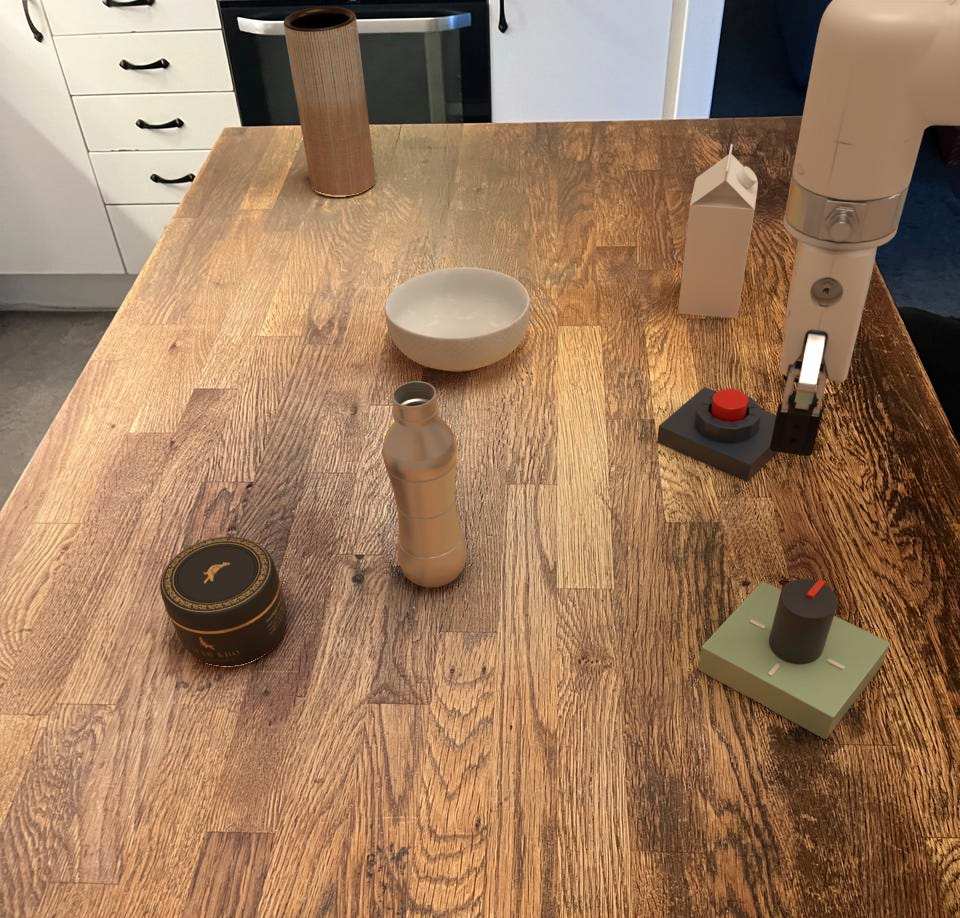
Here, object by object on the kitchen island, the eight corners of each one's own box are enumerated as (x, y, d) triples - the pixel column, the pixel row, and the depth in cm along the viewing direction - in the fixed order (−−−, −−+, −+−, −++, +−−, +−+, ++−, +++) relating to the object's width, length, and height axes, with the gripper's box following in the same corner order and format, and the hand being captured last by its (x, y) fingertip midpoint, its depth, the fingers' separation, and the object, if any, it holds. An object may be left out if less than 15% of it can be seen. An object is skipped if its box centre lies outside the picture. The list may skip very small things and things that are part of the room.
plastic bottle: (481, 561, 96) (470, 382, 81) (444, 606, 92) (425, 427, 77) (425, 540, 98) (403, 362, 83) (386, 583, 94) (357, 405, 79)
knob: (807, 672, 81) (822, 623, 76) (758, 647, 83) (770, 599, 78) (832, 640, 83) (848, 591, 78) (785, 617, 85) (798, 568, 80)
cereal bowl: (551, 332, 122) (552, 278, 117) (496, 406, 112) (494, 350, 107) (429, 307, 128) (424, 255, 122) (365, 376, 118) (357, 322, 112)
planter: (309, 175, 156) (281, 10, 139) (372, 167, 157) (352, 2, 140) (313, 202, 150) (284, 33, 133) (379, 194, 150) (359, 25, 134)
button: (752, 410, 104) (755, 396, 102) (734, 427, 102) (736, 413, 101) (722, 398, 105) (724, 384, 104) (704, 415, 104) (706, 400, 102)
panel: (881, 666, 85) (891, 641, 82) (825, 740, 80) (834, 716, 77) (756, 603, 90) (762, 578, 88) (696, 669, 85) (701, 645, 83)
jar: (165, 670, 88) (139, 610, 82) (201, 590, 95) (180, 530, 89) (274, 678, 87) (255, 618, 81) (303, 597, 93) (287, 536, 88)
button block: (790, 439, 106) (798, 407, 103) (747, 482, 102) (753, 450, 99) (702, 403, 111) (706, 372, 108) (656, 442, 107) (660, 411, 104)
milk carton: (675, 326, 122) (693, 168, 108) (682, 297, 126) (699, 142, 112) (735, 331, 120) (760, 172, 106) (739, 302, 125) (764, 145, 111)
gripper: (898, 272, 61) (837, 489, 74) (906, 155, 72) (852, 362, 85) (773, 259, 63) (734, 474, 75) (799, 147, 74) (762, 351, 86)
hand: (796, 415), depth 80 cm, fingers open, 9 cm apart
